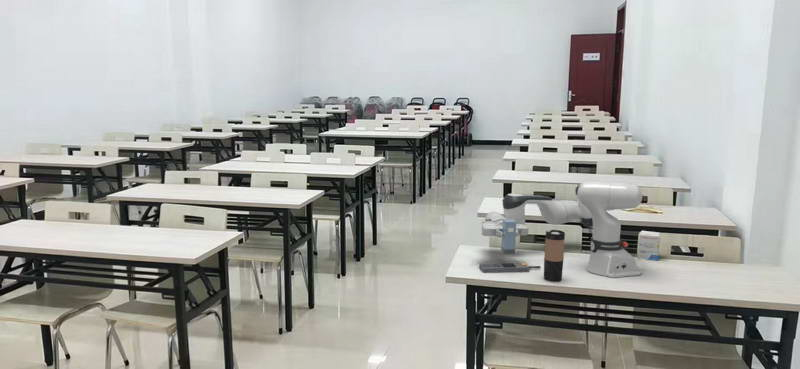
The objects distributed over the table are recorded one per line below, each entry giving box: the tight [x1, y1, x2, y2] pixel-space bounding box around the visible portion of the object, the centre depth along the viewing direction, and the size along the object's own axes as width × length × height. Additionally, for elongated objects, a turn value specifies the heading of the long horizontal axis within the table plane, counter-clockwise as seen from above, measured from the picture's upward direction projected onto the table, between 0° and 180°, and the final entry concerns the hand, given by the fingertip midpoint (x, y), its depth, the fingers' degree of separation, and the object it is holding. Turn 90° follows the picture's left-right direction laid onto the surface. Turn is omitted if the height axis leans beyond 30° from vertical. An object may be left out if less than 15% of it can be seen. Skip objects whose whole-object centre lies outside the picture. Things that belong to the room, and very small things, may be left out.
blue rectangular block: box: [500, 219, 517, 255], centre depth 252 cm, size 5×5×14 cm
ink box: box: [638, 230, 661, 261], centre depth 274 cm, size 9×8×12 cm
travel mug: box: [543, 229, 566, 283], centre depth 242 cm, size 8×8×20 cm
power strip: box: [478, 261, 541, 274], centre depth 255 cm, size 26×7×2 cm, turn 96°
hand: (509, 234), depth 251 cm, fingers closed on blue rectangular block, 5 cm apart
